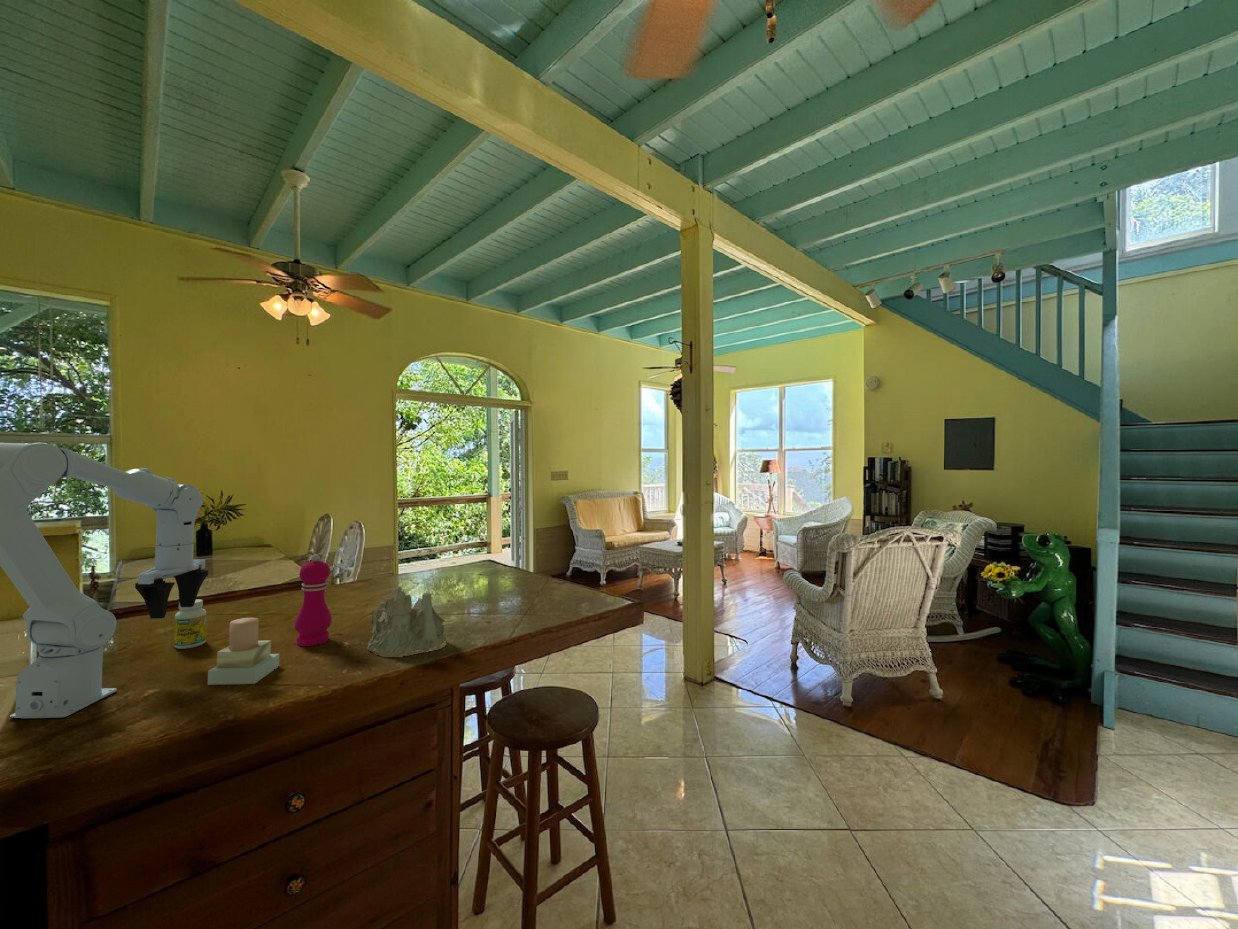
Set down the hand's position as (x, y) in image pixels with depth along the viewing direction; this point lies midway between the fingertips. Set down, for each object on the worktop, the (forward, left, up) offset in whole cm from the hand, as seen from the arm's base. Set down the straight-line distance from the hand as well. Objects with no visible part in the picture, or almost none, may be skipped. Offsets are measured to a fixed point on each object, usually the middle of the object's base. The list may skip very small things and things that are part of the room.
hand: (172, 612), depth 100 cm
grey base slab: (-6, -17, -11) cm, 21 cm away
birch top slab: (-6, -17, -8) cm, 19 cm away
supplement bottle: (+11, +4, -11) cm, 16 cm away
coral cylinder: (-6, -17, -5) cm, 19 cm away
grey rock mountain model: (+10, -42, -11) cm, 45 cm away
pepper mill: (+12, -21, -11) cm, 26 cm away
